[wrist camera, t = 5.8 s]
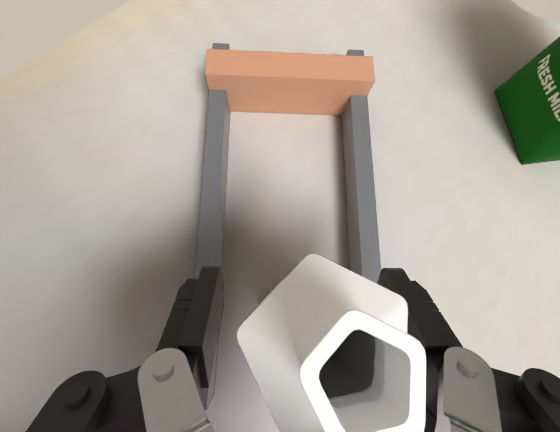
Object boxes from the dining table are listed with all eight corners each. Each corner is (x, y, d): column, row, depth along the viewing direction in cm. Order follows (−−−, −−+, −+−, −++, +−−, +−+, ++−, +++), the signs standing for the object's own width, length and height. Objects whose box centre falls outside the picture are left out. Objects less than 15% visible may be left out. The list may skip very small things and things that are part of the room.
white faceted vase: (259, 269, 20) (245, 222, 5) (322, 279, 20) (483, 258, 5) (248, 340, 18) (189, 539, 4) (314, 349, 19) (496, 580, 4)
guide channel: (195, 392, 18) (175, 422, 14) (218, 68, 23) (208, 24, 20) (374, 390, 18) (404, 418, 14) (353, 74, 24) (370, 33, 20)
